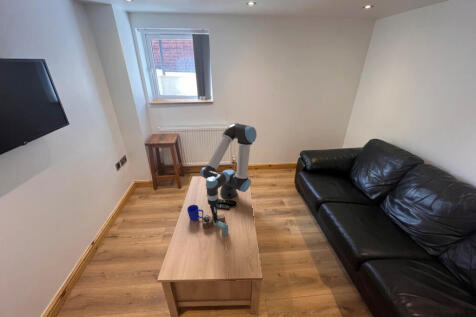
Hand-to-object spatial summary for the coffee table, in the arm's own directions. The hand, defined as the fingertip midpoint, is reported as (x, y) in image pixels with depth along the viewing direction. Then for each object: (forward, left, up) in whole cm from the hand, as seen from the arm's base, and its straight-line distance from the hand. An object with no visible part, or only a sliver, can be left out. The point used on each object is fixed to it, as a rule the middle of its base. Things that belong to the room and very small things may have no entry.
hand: (214, 222), depth 143 cm
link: (0, 0, 0) cm, 1 cm away
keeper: (+4, +10, 0) cm, 11 cm away
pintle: (+4, -3, 0) cm, 5 cm away
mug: (+4, -14, 0) cm, 15 cm away
